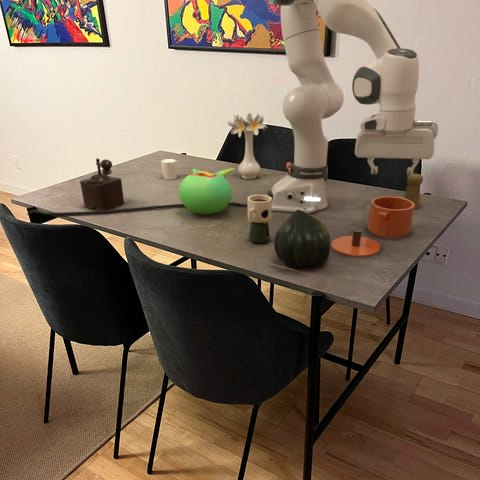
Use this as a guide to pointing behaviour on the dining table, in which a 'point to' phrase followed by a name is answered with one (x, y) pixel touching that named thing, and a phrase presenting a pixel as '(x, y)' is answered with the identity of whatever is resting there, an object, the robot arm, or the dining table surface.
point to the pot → (391, 216)
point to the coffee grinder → (102, 189)
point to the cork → (414, 188)
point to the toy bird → (206, 191)
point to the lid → (355, 245)
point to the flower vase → (248, 142)
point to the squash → (302, 241)
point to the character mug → (259, 217)
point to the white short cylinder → (169, 168)
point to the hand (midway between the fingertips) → (391, 174)
